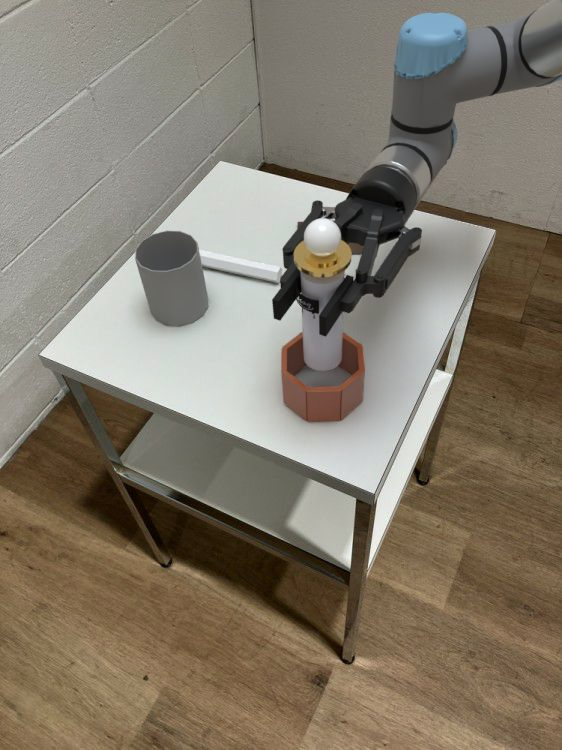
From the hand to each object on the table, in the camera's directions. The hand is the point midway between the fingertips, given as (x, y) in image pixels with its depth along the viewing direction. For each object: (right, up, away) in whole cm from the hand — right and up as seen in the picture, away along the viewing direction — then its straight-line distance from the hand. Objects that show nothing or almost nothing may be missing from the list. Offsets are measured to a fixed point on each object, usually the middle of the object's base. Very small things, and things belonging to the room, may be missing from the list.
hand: (299, 317), depth 64 cm
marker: (-9, +10, +32) cm, 35 cm away
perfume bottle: (+3, -4, +12) cm, 13 cm away
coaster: (+6, +16, +36) cm, 39 cm away
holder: (+3, -8, +16) cm, 19 cm away
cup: (-16, +4, +28) cm, 33 cm away
